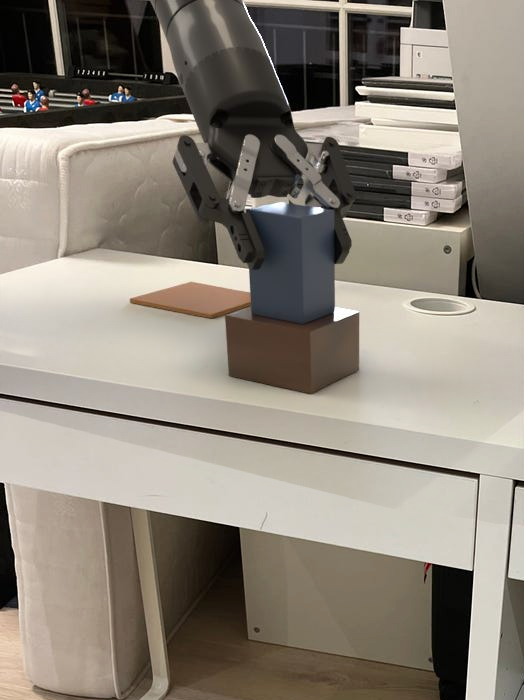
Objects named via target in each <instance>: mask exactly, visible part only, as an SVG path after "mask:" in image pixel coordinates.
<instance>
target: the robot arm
mask: <svg viewBox="0 0 524 700" xmlns="http://www.w3.org/2000/svg"><path fill="white" fill-rule="evenodd" d="M149 2H150V4H151V6H152V8H153V10H154V12H155V15H156V18H157V20H158V22H159V24H160V27H161V30H162V32H163V35H164V37H165V40H166V43H167V45H168V48H169V51H170V54H171V59H172V64H173V67H174V70H175V74H176V76H177V80H178V84H179V86H180V88H181V89H182V91H183V94H184V96H185V98H186V102H187V104H188V106H189V109H190V111H191V114H192V117H193V119H194V121H195V124H196V127H197V129H198V132H199V134H200V136H201V139H202V141H203V142H195V140H194V139H193V138H192V137H191V136H189V135H181V136H180V137H179V138H178V140H177V141H178V142H177V145H176V149H175V151H174V154H173V158H172V165H173V167H174V169H175V171H176V173H177V176H178V178H179V180H180V183H181V184H182V187H183V189H184V191H185V193H186V196H187V198H188V200H189V202H190V205H191V206H192V209H193V211H194V213H195V215H196V218H197V220H199V222H200V223H202V224H204V225H210V224H211V223H213V222H214V223H217V224H221V225H222V226H223V228H224V229H226V231H227V232H228V234H229V237H230V239H231V242H232V244H233V246H234V247H233V248H234V250H235V252H236V255H237V257H238V259H239V260H240V261H241V262H242V264H246V265H247V267H248V270H249V269H250V270H257V269H260V268H261V266H262V264H263V262H264V259H265V250H264V247H263V245H262V242H261V240H260V237H259V235H258V232H257V230H256V227H255V225H254V222H253V220H252V217H251V215H250V213H246V211H245V210H246V209H245V208H246V205H247V200H248V196H249V195H250V199H251V198H261V197H264V196H268V195H270V196H274V197H287V198H288V199H289V202H291V204H297V205H303V206H310V207H316V208H323V209H329V210H334V251H335V265H343V263H344V262H346V259H347V257H348V256H349V254H350V251H351V249H352V245H353V243H352V241H353V240H352V239H351V236H350V233H349V231H348V228H347V226H346V223H345V221H344V219H345V218H346V217H347V215H348V212H349V211H350V208H351V206H352V205H353V203H354V202H355V201H356V199H357V192H356V190H355V187H354V185H353V182H352V178H351V175H350V173H349V171H348V167H347V165H346V162H345V159H344V156H343V154H342V151H341V147H340V145H339V143H338V140H336V139H335V138H334V137H332V136H327V137H325V138H324V140H323V142H322V143H312V142H311V143H310V142H306V140H305V139H304V138H303V137H302V136H301V135H300V134H299V132H298V131H297V130H296V128H295V125H294V120H293V115H292V110H291V106H290V103H289V102H288V99H287V96H286V93H285V92H284V89H283V86H282V85H281V82H280V80H279V77H278V75H277V73H276V70H275V68H274V64H273V62H272V60H271V57H270V56H269V53H268V50H267V48H266V46H265V45H266V44H265V43H264V40H263V38H262V36H261V34H260V33H259V30H258V29H257V27H256V25H255V23H254V22H253V20H252V19H251V16H250V15H249V12H248V9H247V6H246V5H245V2H244V0H149ZM208 164H209V165H210V166H211V167H212V168H213V169H215V170H216V171H218V173H219V174H221V176H223V177H224V178H225V179H227V180H228V181H229V184H228V189H227V193H226V198H224V197H220V194H219V192H218V190H217V188H216V185H215V183H214V180H213V179H212V177H211V174H210V172H209V170H208V168H207V167H208ZM300 178H301V179H302V182H303V183H302V184H303V185H302V186H301V189H300V188H299V186H297V185H298V183H299V180H300Z"/></svg>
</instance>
